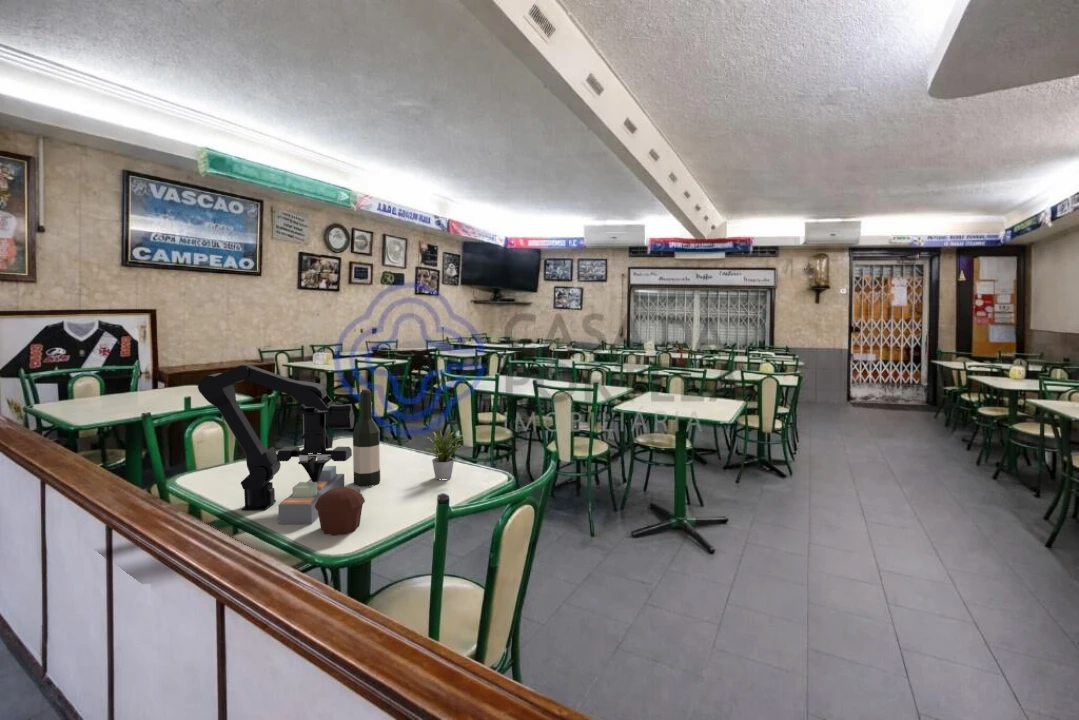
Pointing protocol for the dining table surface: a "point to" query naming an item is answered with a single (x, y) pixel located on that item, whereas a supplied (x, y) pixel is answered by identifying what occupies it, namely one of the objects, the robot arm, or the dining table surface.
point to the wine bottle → (366, 445)
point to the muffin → (340, 510)
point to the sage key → (305, 490)
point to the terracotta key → (321, 484)
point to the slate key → (328, 473)
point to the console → (305, 505)
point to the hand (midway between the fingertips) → (315, 483)
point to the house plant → (443, 455)
